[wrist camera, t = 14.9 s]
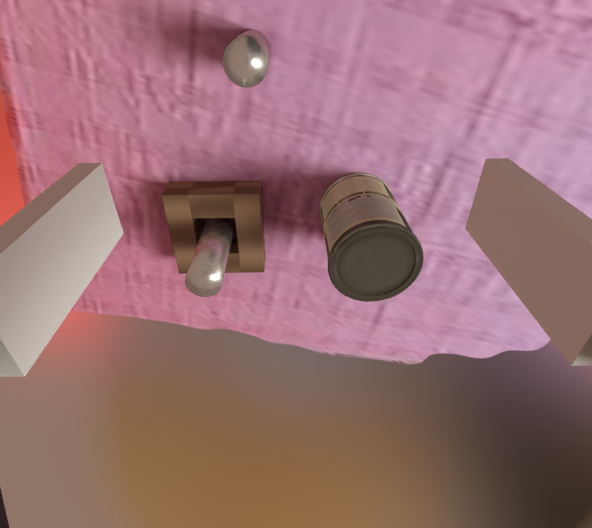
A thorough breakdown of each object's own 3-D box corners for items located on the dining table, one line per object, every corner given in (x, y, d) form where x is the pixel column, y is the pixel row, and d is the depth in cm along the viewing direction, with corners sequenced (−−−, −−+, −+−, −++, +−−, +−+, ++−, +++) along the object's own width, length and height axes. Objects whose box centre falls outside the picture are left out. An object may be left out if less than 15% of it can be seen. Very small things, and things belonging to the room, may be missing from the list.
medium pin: (232, 29, 40) (220, 37, 33) (270, 29, 40) (266, 36, 33) (236, 71, 42) (225, 87, 35) (271, 71, 42) (268, 87, 35)
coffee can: (409, 199, 52) (444, 257, 40) (358, 250, 56) (377, 315, 45) (352, 156, 48) (373, 206, 37) (304, 214, 53) (309, 275, 41)
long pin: (204, 209, 52) (182, 268, 41) (233, 208, 52) (219, 268, 41) (208, 234, 54) (188, 297, 43) (236, 233, 54) (223, 296, 43)
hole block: (169, 182, 50) (161, 195, 46) (260, 181, 50) (258, 194, 46) (185, 257, 57) (179, 273, 53) (265, 256, 57) (264, 272, 53)
